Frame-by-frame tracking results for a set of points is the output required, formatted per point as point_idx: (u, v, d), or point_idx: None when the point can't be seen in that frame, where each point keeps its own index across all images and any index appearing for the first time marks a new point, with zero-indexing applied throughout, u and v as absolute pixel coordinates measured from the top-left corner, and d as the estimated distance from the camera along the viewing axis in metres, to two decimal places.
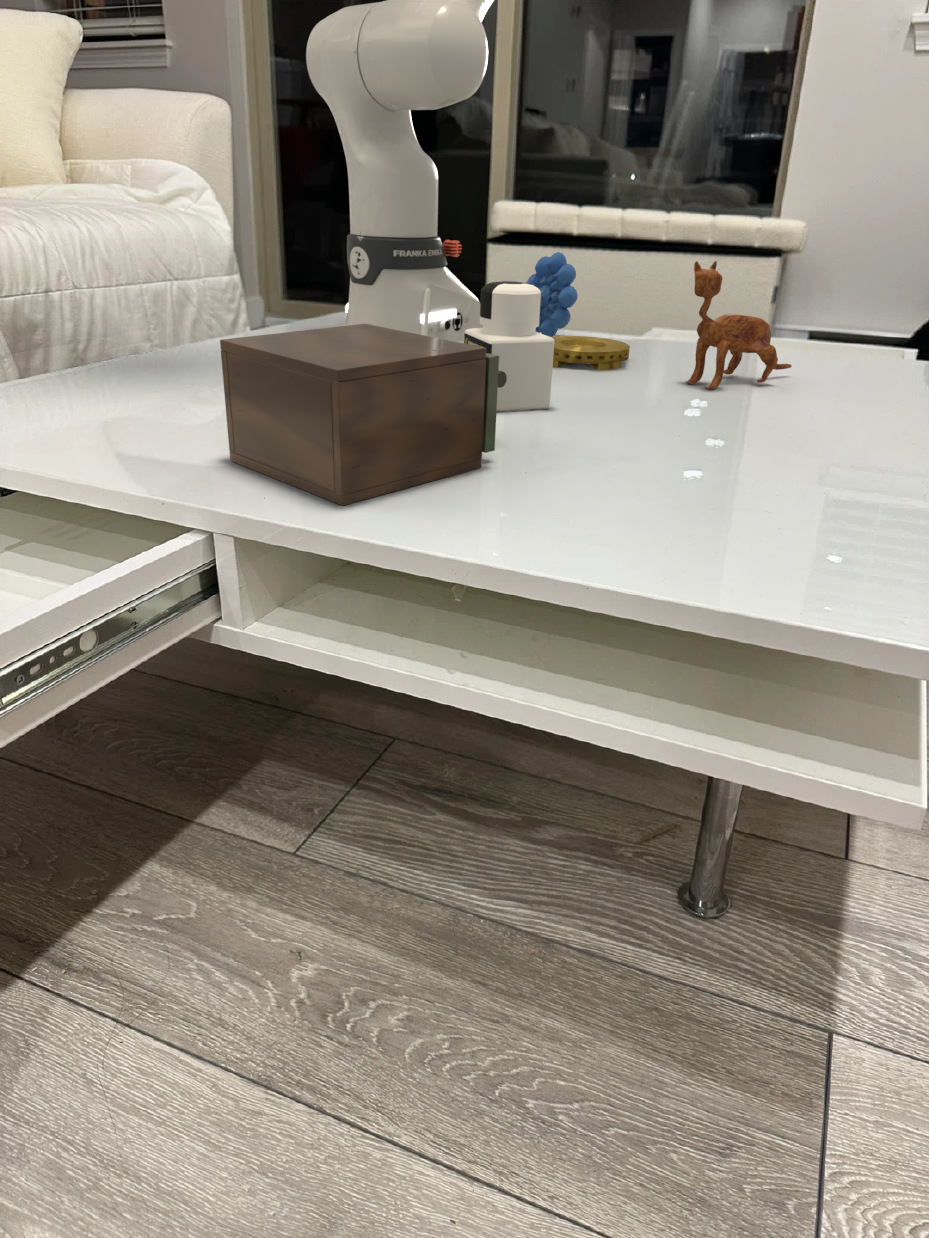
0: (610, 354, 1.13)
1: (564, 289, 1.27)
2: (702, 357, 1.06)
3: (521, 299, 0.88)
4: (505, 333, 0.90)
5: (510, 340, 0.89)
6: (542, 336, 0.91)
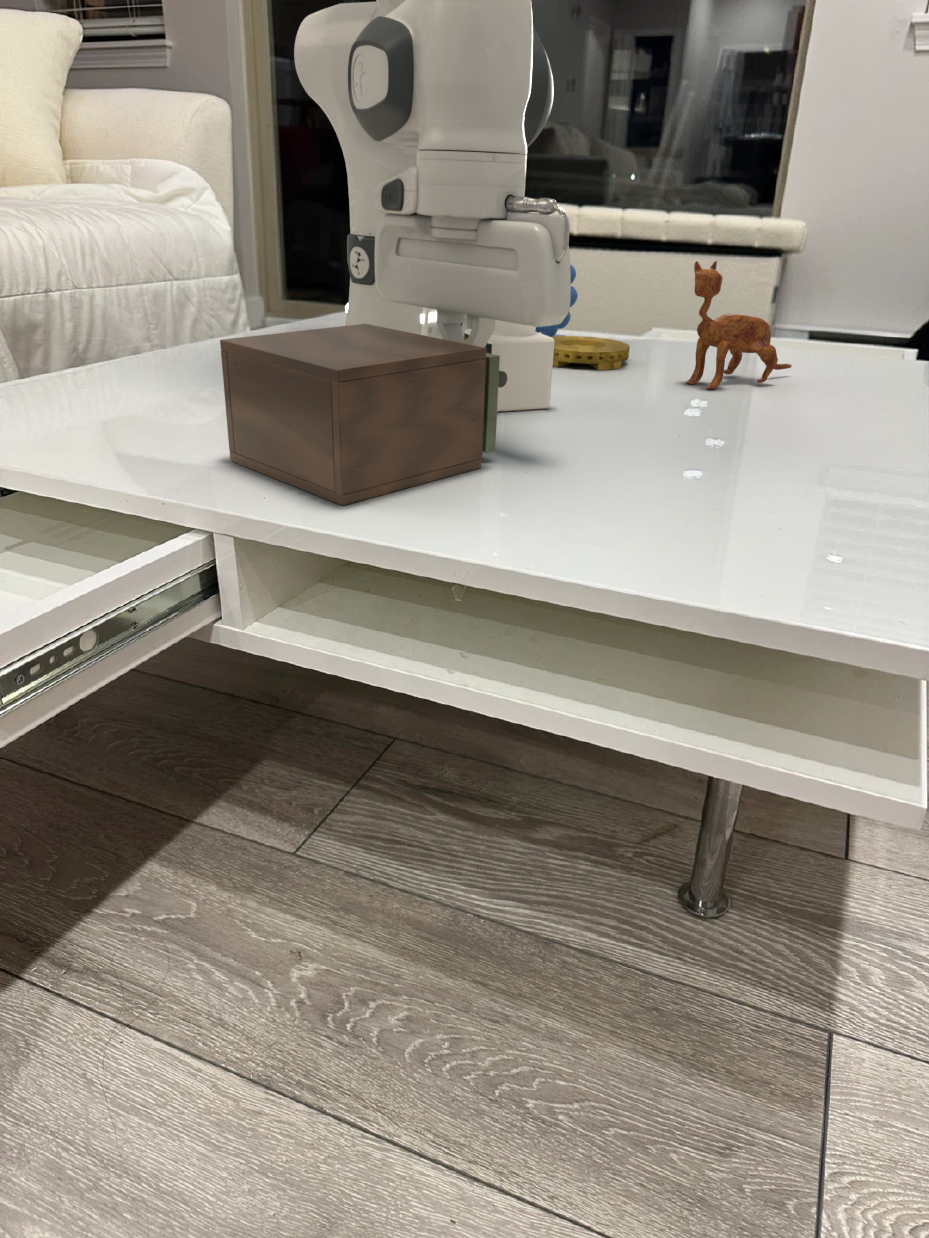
0: (610, 354, 1.13)
1: None
2: (702, 357, 1.06)
3: None
4: (505, 333, 0.90)
5: (510, 340, 0.89)
6: (542, 336, 0.91)
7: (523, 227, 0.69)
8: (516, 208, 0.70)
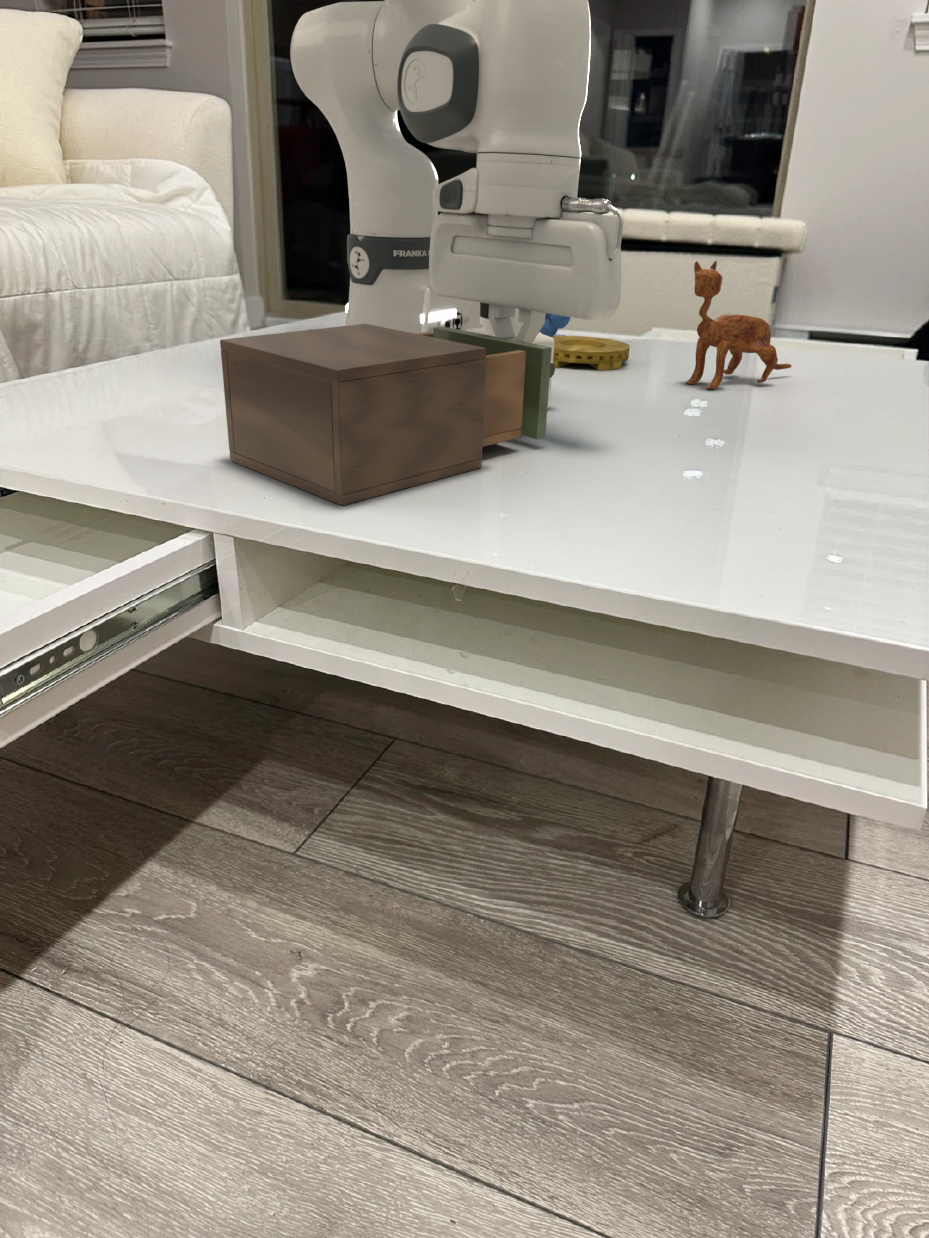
0: (610, 354, 1.13)
1: None
2: (702, 357, 1.06)
3: None
4: None
5: None
6: (542, 336, 0.91)
7: (579, 226, 0.73)
8: (571, 208, 0.74)
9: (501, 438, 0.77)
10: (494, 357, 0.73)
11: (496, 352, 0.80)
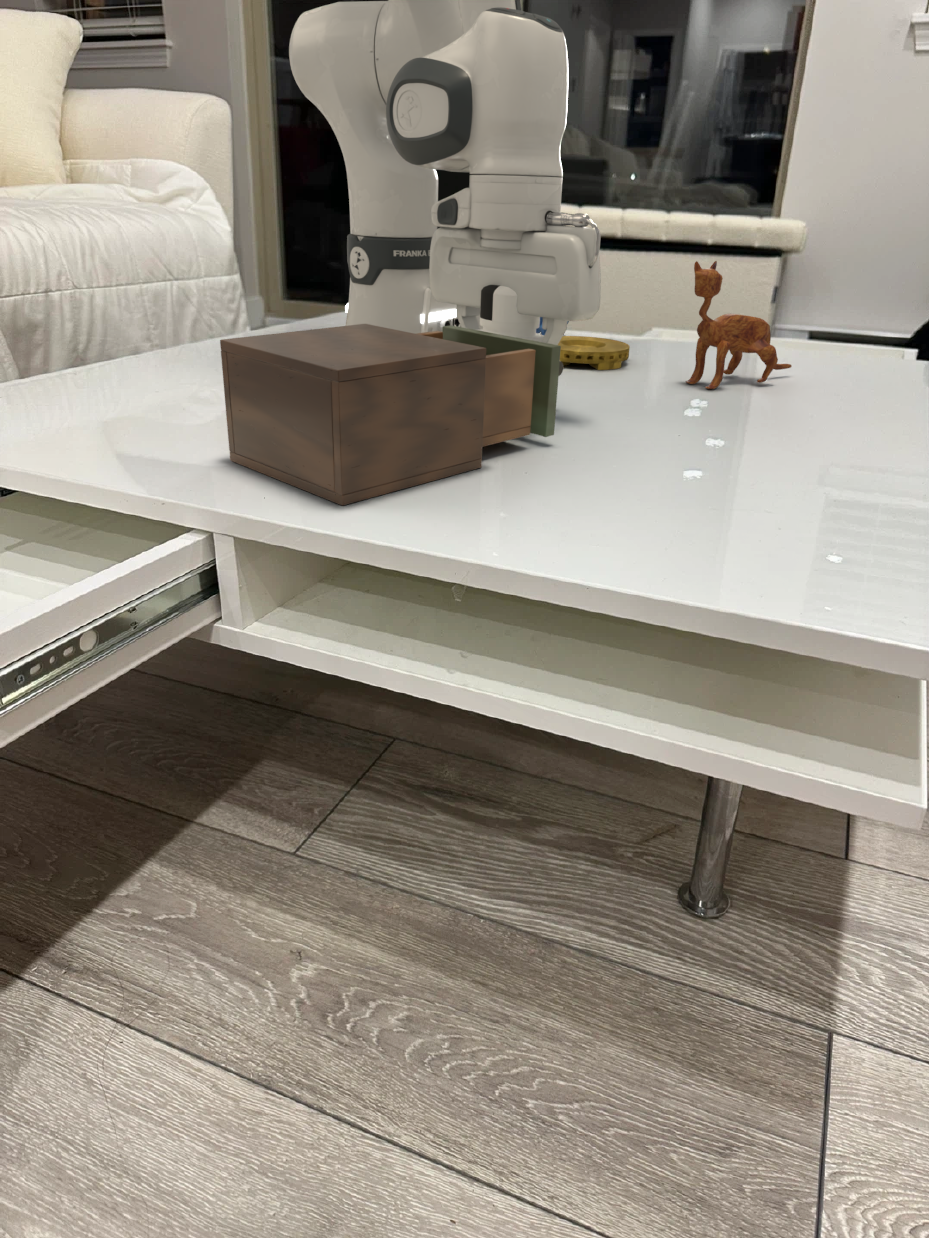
0: (610, 354, 1.13)
1: None
2: (702, 357, 1.06)
3: None
4: (506, 334, 0.89)
5: None
6: None
7: (561, 238, 0.82)
8: (554, 222, 0.83)
9: (510, 436, 0.78)
10: (504, 355, 0.74)
11: (505, 351, 0.80)
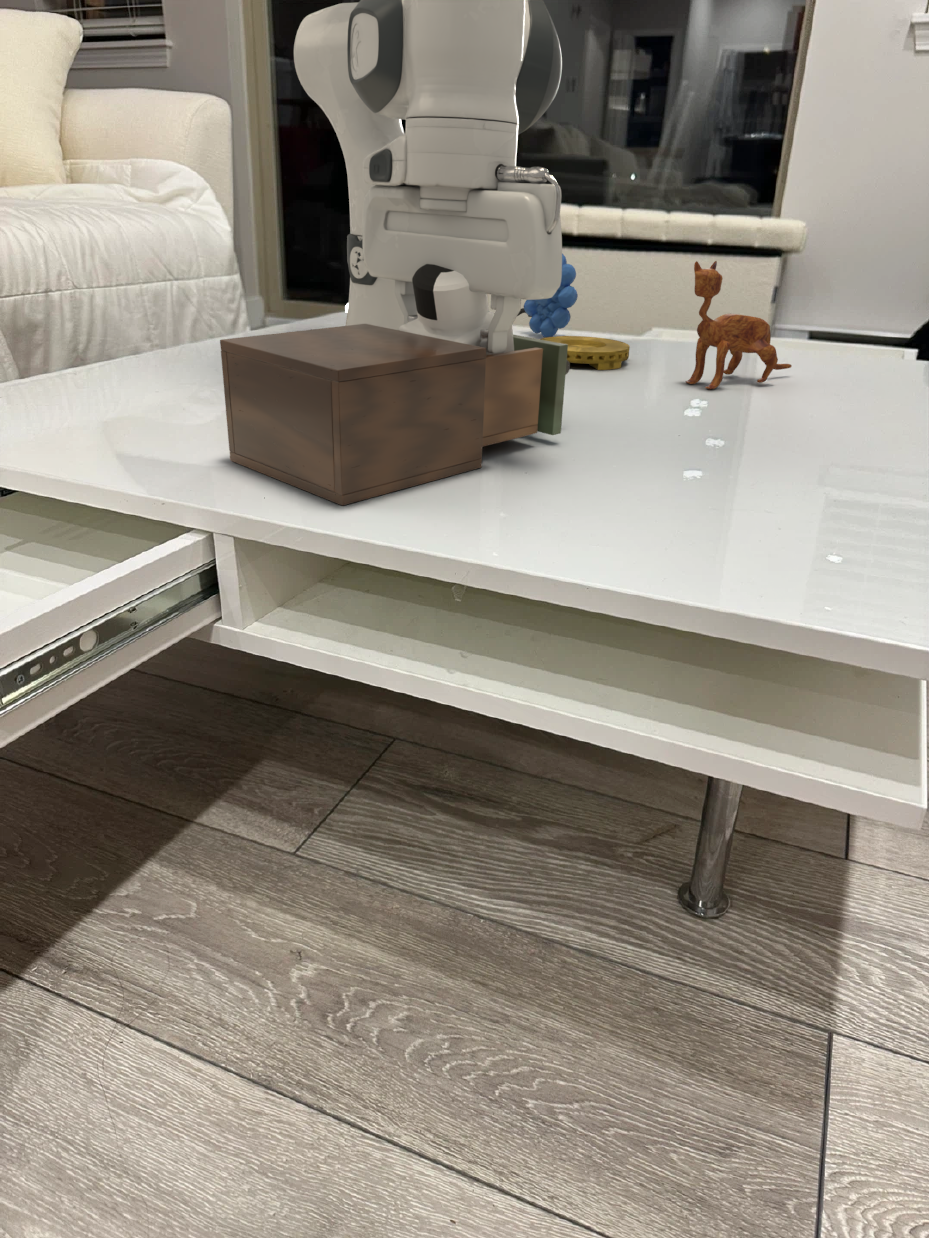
0: (610, 354, 1.13)
1: (564, 289, 1.27)
2: (702, 357, 1.06)
3: (469, 290, 0.73)
4: (457, 332, 0.75)
5: (466, 341, 0.74)
6: None
7: (514, 196, 0.67)
8: (506, 178, 0.68)
9: (518, 434, 0.78)
10: (512, 354, 0.74)
11: None
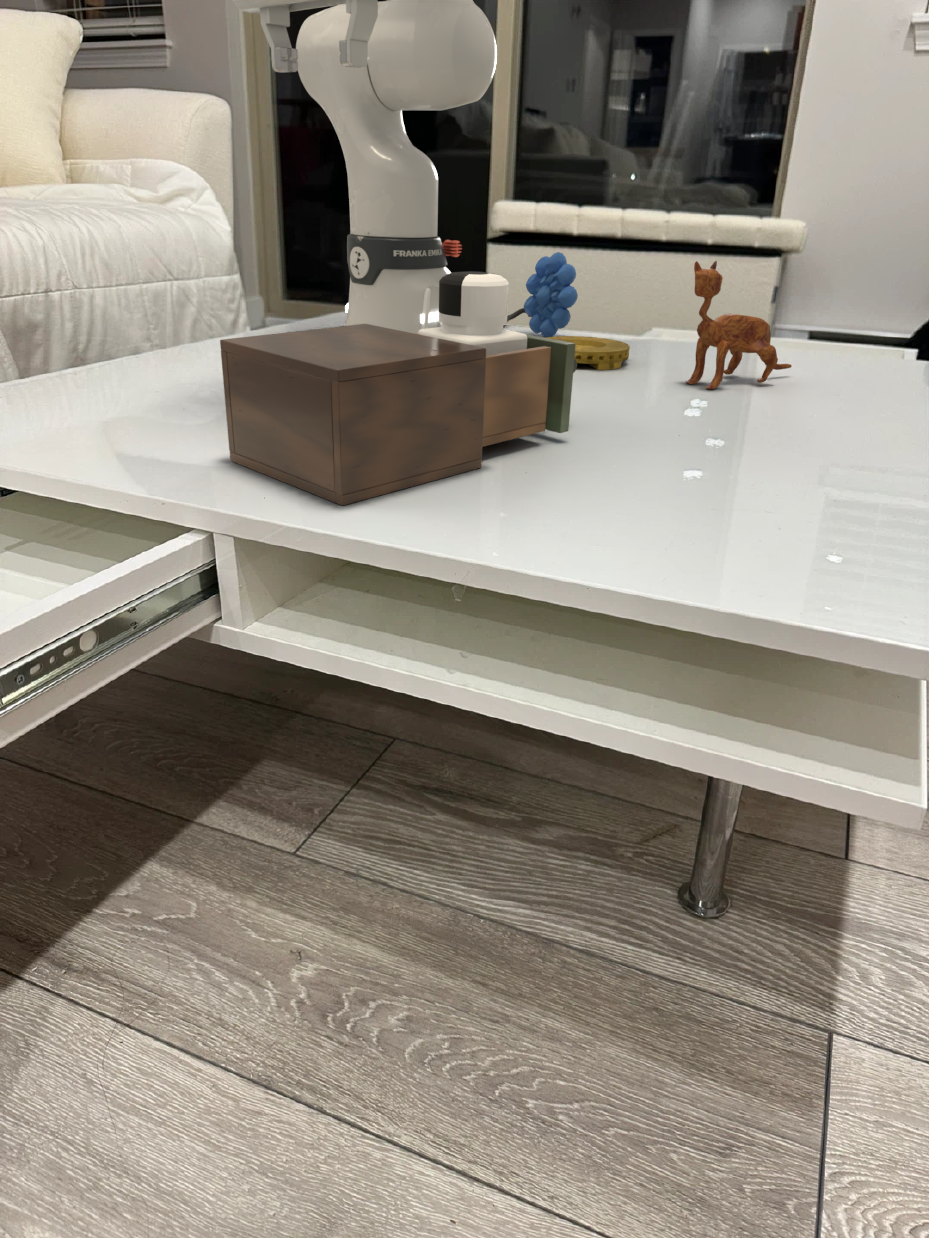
0: (610, 354, 1.13)
1: (564, 289, 1.27)
2: (702, 357, 1.06)
3: (495, 291, 0.76)
4: (477, 332, 0.77)
5: (486, 339, 0.77)
6: (514, 333, 0.79)
7: None
8: None
9: (526, 432, 0.79)
10: (521, 353, 0.75)
11: None
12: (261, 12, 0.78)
